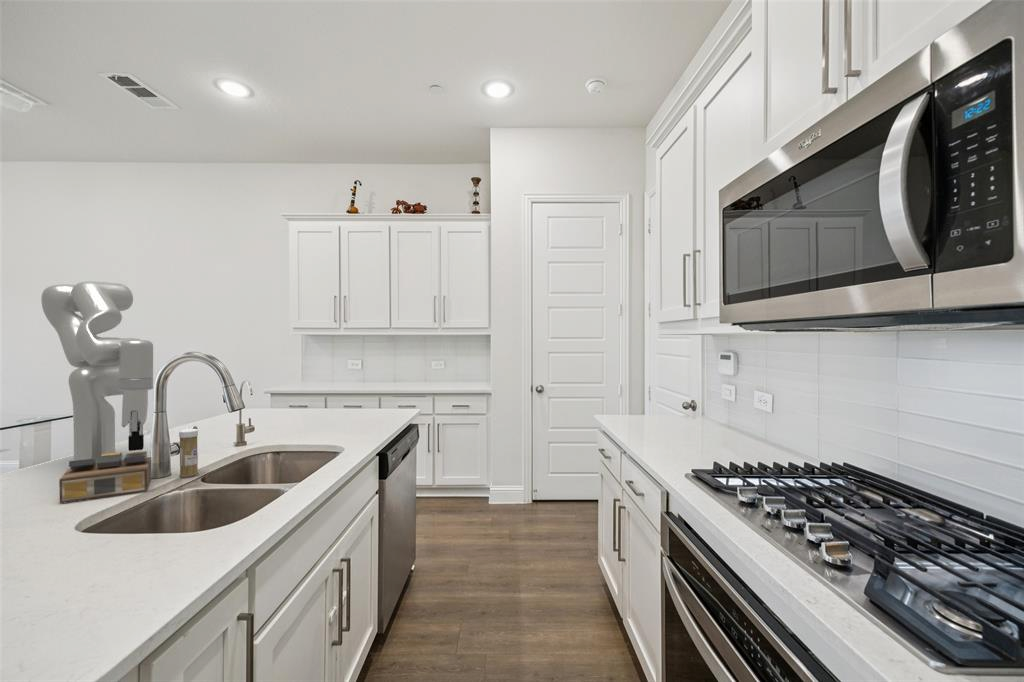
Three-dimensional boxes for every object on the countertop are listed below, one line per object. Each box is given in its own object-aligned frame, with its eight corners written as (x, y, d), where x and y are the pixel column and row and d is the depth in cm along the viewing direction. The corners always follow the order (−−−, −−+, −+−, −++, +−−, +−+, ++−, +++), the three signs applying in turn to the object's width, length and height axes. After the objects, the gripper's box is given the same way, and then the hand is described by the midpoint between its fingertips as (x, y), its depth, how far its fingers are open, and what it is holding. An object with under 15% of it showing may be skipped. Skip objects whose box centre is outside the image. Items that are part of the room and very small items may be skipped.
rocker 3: (127, 461, 133) (127, 453, 133) (147, 458, 135) (147, 450, 135) (124, 465, 128) (124, 457, 128) (145, 463, 130) (144, 455, 130)
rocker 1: (73, 469, 126) (74, 461, 127) (95, 467, 129) (96, 458, 129) (68, 469, 121) (69, 460, 122) (91, 467, 124) (91, 458, 124)
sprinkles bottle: (193, 477, 138) (192, 431, 138) (176, 478, 138) (175, 431, 137) (201, 472, 143) (201, 428, 142) (184, 473, 142) (184, 428, 142)
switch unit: (72, 488, 128) (72, 465, 128) (151, 477, 138) (151, 457, 138) (59, 504, 116) (58, 479, 116) (146, 491, 126) (146, 469, 125)
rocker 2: (101, 461, 130) (101, 454, 129) (122, 459, 132) (121, 451, 132) (97, 470, 125) (97, 462, 124) (119, 468, 127) (118, 460, 127)
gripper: (122, 381, 137) (122, 445, 138) (115, 388, 125) (114, 457, 125) (155, 380, 141) (154, 442, 142) (150, 386, 129) (150, 454, 129)
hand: (136, 449), depth 133 cm, fingers closed
